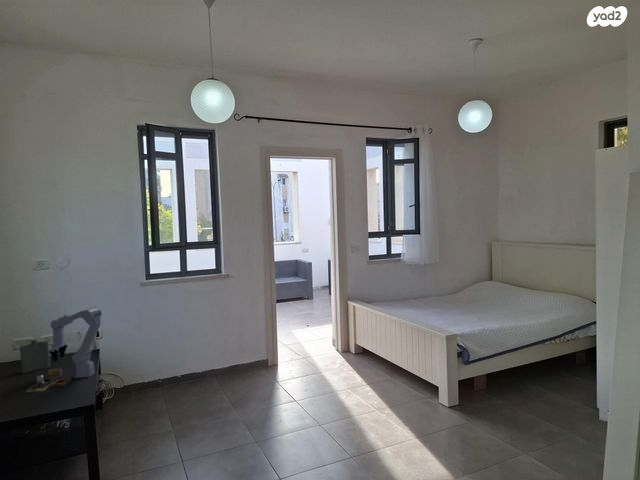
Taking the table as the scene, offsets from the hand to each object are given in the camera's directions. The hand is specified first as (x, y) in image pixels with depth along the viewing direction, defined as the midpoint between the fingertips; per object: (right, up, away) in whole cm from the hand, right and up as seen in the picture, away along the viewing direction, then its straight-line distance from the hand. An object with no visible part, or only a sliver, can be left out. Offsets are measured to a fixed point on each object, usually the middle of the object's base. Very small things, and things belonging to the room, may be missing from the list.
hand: (58, 359), depth 269 cm
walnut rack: (+11, -11, -16) cm, 22 cm away
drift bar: (+2, -9, -15) cm, 17 cm away
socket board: (+2, -12, -20) cm, 24 cm away
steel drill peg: (+2, -11, -21) cm, 23 cm away
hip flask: (-24, -11, +15) cm, 30 cm away
